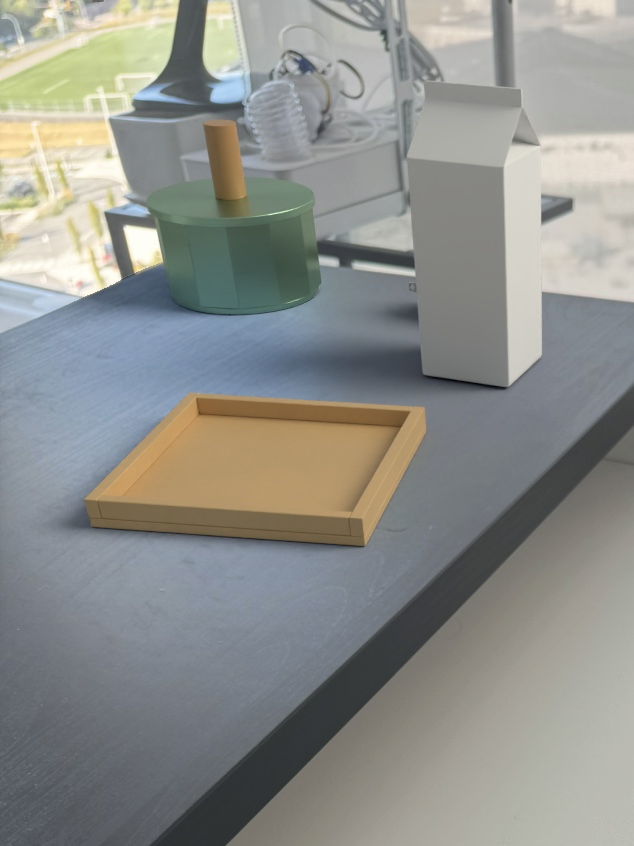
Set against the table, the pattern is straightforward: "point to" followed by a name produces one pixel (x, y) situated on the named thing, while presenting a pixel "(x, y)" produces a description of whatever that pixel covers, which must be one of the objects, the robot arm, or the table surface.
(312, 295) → the tin
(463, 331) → the milk carton
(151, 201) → the lid
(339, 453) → the tray
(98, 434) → the table surface
